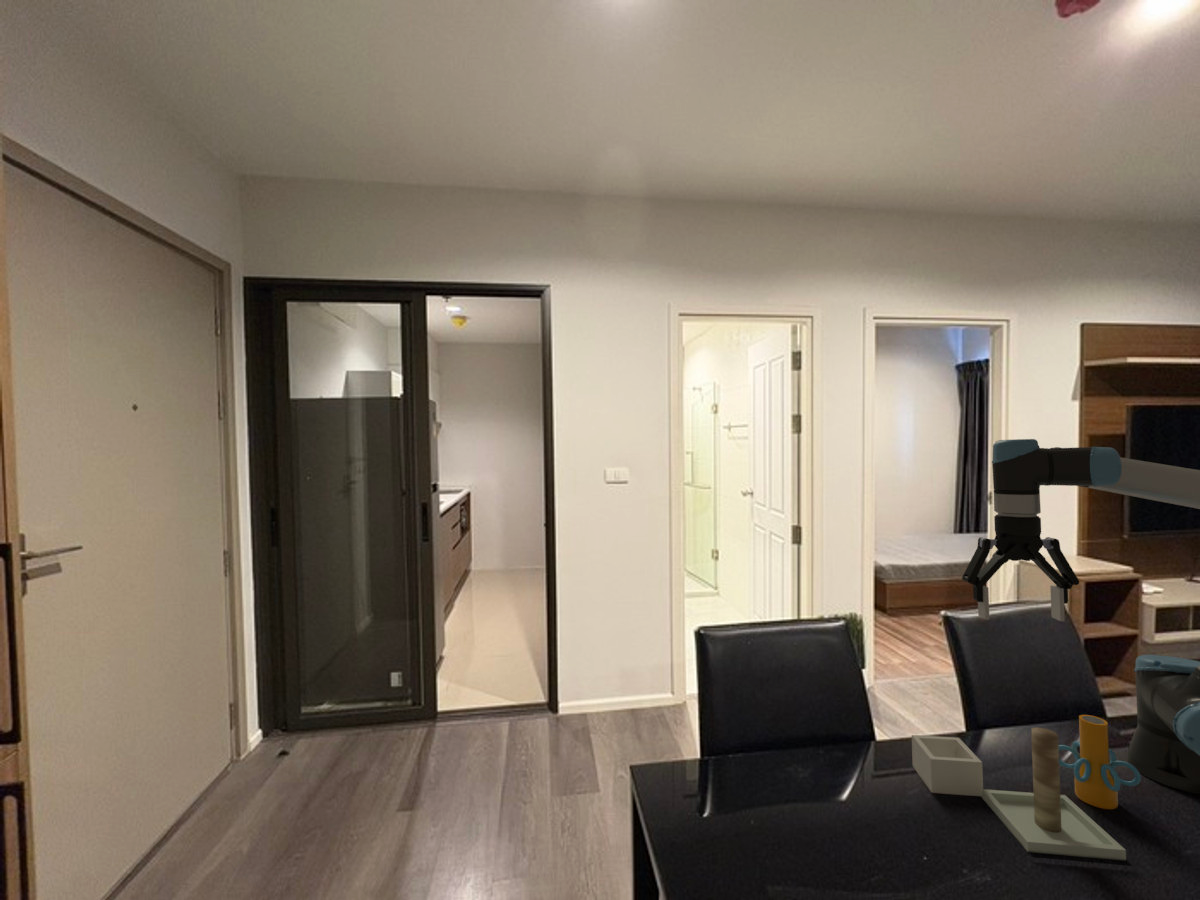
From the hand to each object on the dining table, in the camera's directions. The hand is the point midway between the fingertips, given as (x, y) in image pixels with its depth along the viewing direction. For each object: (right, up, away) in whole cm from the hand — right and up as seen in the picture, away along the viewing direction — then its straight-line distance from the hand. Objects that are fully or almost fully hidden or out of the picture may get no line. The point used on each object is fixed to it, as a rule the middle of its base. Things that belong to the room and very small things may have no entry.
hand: (1020, 618), depth 110 cm
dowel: (-8, -31, -16) cm, 36 cm away
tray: (-8, -32, -16) cm, 36 cm away
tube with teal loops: (+8, -32, -9) cm, 34 cm away
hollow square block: (-17, -32, -3) cm, 36 cm away
